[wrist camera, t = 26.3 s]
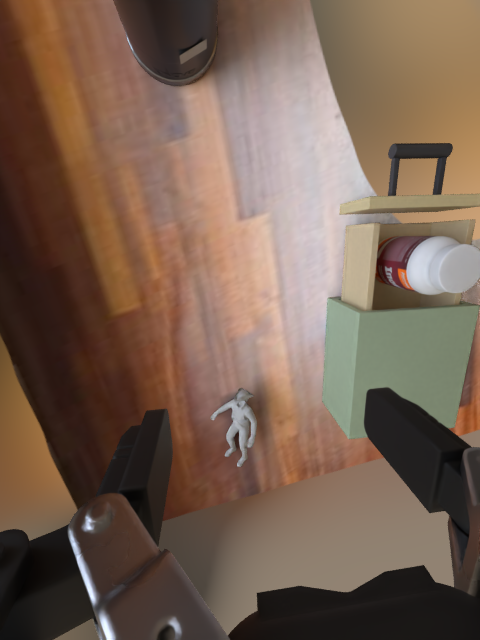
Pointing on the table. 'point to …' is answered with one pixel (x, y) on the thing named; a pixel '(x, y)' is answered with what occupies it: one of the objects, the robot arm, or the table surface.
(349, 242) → the drawer
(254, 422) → the soldier figure
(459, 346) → the cabinet
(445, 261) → the pill bottle
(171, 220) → the table surface
